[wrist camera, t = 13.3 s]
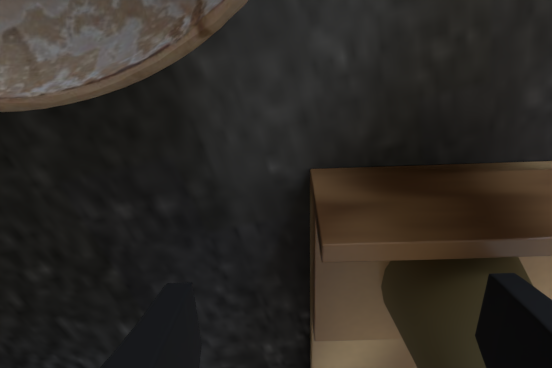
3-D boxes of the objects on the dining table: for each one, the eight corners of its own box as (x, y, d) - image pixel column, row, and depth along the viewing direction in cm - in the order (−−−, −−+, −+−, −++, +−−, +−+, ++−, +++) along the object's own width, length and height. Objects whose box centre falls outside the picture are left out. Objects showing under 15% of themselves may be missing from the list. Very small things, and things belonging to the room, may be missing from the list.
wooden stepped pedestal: (310, 396, 28) (318, 501, 23) (309, 168, 21) (321, 245, 16) (506, 391, 28) (560, 495, 23) (574, 159, 21) (675, 234, 16)
